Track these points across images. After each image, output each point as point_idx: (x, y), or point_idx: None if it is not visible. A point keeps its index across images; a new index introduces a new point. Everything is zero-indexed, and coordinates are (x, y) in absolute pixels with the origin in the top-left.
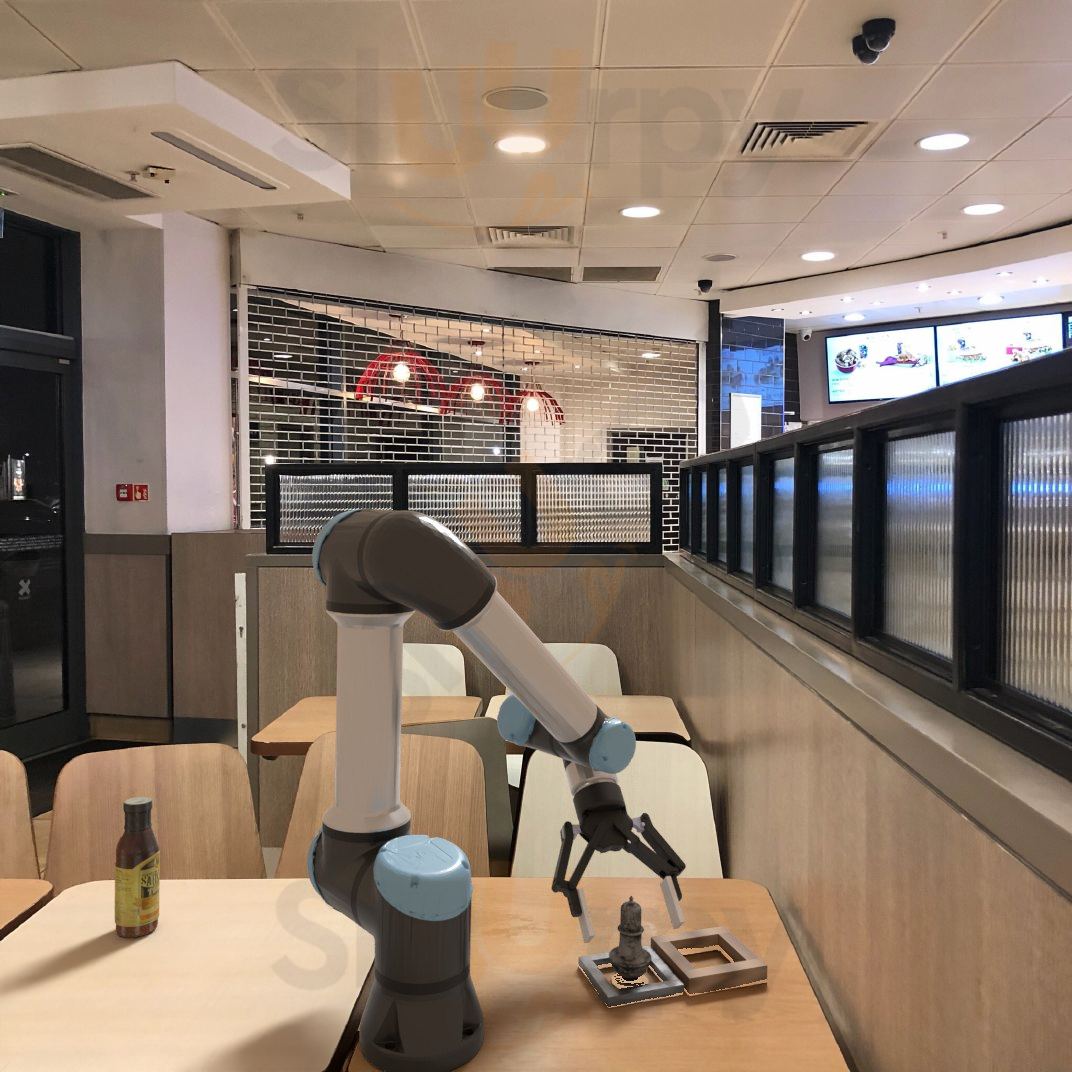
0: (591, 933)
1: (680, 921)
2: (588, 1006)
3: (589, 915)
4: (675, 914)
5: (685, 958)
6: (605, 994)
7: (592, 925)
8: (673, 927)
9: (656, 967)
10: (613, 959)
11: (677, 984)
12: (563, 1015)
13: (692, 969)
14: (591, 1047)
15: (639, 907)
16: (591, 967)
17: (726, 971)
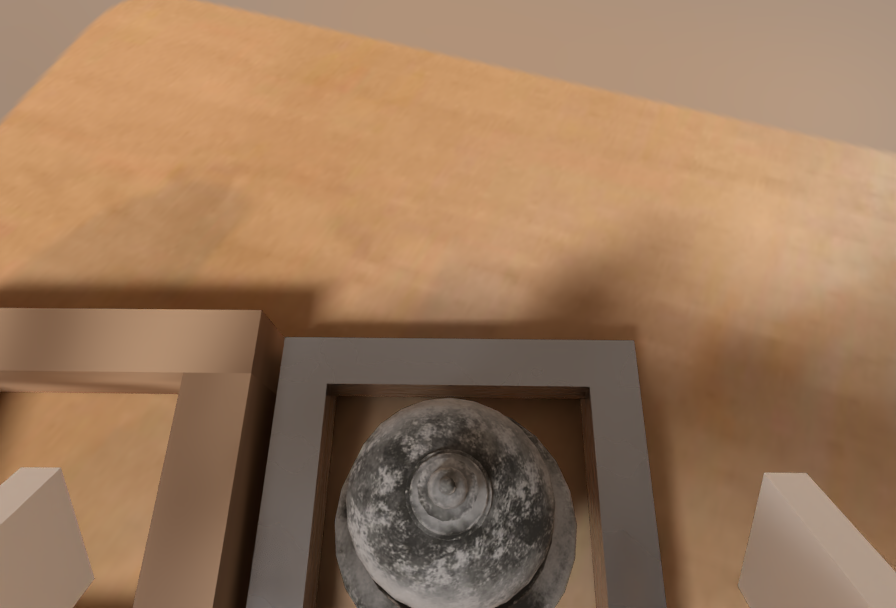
0: (797, 484)
1: (54, 470)
2: (694, 394)
3: (868, 598)
4: (19, 554)
5: (161, 477)
6: (636, 373)
7: (805, 528)
8: (87, 583)
9: (314, 519)
10: (565, 504)
11: (311, 344)
12: (807, 366)
13: (200, 370)
14: (736, 181)
15: (386, 427)
16: None
17: (76, 312)
